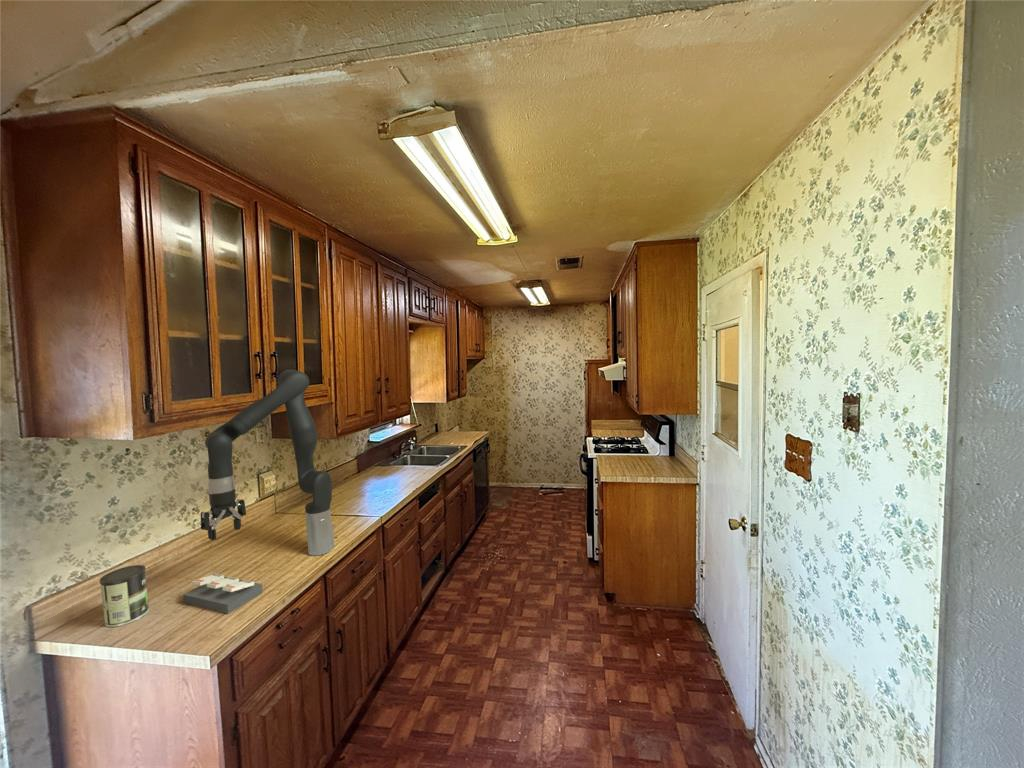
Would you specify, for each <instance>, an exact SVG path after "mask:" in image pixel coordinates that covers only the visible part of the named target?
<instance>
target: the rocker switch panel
mask: <svg viewBox="0 0 1024 768" xmlns="http://www.w3.org/2000/svg"><path fill="white" fill-rule="evenodd" d="M226 578H230V577H227V576H224V579H226ZM221 580H222V579H221ZM217 581H218V580H217ZM241 581H245V580H244V579H243V580H242V579H239V582H241ZM237 583H238V582H237ZM230 585H231V584H230ZM222 588H223V587H219V588H216V589H215V588H210V587H207V584H204V585H201V586H199V585H198V586H196V587H195V588H193V589H191V590H189V591H187V592H185V593H184V594H183V595H182V596H183V604H185V605H188V606H193V607H197V608H201V609H206V610H211V611H213V612H218V613H222V614H227V615H229V614H231V613H232V612H234V611H235V610H237V609H239V608H240V607H243V606H244V605H245V604H247V603H249V602H250V601H252V600H253V599H255V598H257V597H258V596H260V595H261V594H263V584H262V583H257V582H254V585H253V586H250V587H246V588H244V589H240V590H236V591H233V592H229V591H224V590H222Z"/></svg>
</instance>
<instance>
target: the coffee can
mask: <svg viewBox="0 0 1024 768" xmlns="http://www.w3.org/2000/svg"><path fill="white" fill-rule="evenodd" d="M146 577H147V576H146V565H144V564H138V565H137V564H136V565H129V566H125V567H120V568H118V569H115V570H112V571H110V572H108V573H106V574H104V575H103V576H102V577H100V578H99V583H100V591H101V598H102V599H101V600H102V608H103V609H102V610H103V617H104V618H103V619H104V626H105V627H107V628H117V627H121V626H122V627H123V626H125V625H127V624H131V623H133V622H136V621H138V620H139V619H141V618H143V617H144V616H146V615H147V614H148V613H149V612H150V607H149V597H148V586H147V578H146Z"/></svg>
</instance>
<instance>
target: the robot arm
mask: <svg viewBox="0 0 1024 768" xmlns="http://www.w3.org/2000/svg"><path fill="white" fill-rule="evenodd" d="M309 386H310V379H309V376H308V375H307V374H306V373H304V372H303V371H299V370H295V369H285V370H283V371H282V372H280V373H279V376H278V378H277V387H275V388H274V389H273V390H272V391H271V392H269V393H268V394H266V395H265V396H263V397H261V398H260V399H258V400H255V401H254V402H252V403H251V404H249V405H248V406H246V407H244V409H242V410H240V411H239V412H238V413H237V414H236V415H235V416H233V417H232V418H231V419H230V420H228V421H227V422H225V423H224V424H222V425H220V426H219V427H217V428H216V429H215V430H213V431H212V432H211V433H209V434H208V435H207V436H206V438H205V440H204V446H205V447H206V449H207V454H208V455H207V456H208V464H207V476H208V484H207V485H208V486H207V488H208V499H209V501H208V502H209V506H210V510H206V511H202V512H200V530H203V531H207V535H208V539H209V540H210V541H216V540H217V529H216V527H217V525H218V524H220V522H221V520H224V519H225V518H229V517H232V518H233V519H232V520H233V529H234V530H236V531H239V530H241V527H242V520H241V519H242V517H244V516H246V514H247V511H246V502H245V500H244V499H240V498H237V497H236V496H237V495H236V494H237V493H236V483H235V481H236V480H235V477H234V467H233V442H234V441H236V439H238V438H240V437H241V436H245V434H247V433H248V432H250V431H251V430H252V429H254V428H255V427H256V426H258V424H260V423H261V422H262V421H263V420H264V419H266V418H267V417H268V416H270V415H271V414H272V413H273V412H275V411H276V410H278V409H279V408H281V407H282V406H284V407H285V413H286V419H287V423H288V424H287V425H288V431H289V435H290V439H291V442H292V446H293V451H294V458H295V462H296V470H297V479H298V486H299V489H300V490H301V491H302V493H305V494H310V495H311V494H312V501H309V502H307V503H306V504H305V506H304V509H305V510H304V511H305V512H304V513H305V524H306V525H305V526H306V527H305V529H306V540H307V541H306V543H307V544H306V545H307V554H308V555H309V556H322V555H325V554H328V553H329V552H331V551H332V550H333V548H334V547H335V535H334V534H335V533H334V532H335V531H334V525H333V523H332V515H331V503H332V500H333V499H332V497H333V495H332V493H333V484H332V478H331V474H330V473H329V472H327V471H324V470H316V468H315V465H314V459H313V458H314V457H313V455H314V454H315V450H316V447H317V445H318V439H319V438H318V433H317V427H316V423H315V420H314V419H313V416H312V414H311V412H310V410H309V408H308V406H307V403H306V400H305V396H304V393H305V392H306V391H307V389H308V388H309ZM236 508H237V510H236Z"/></svg>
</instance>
